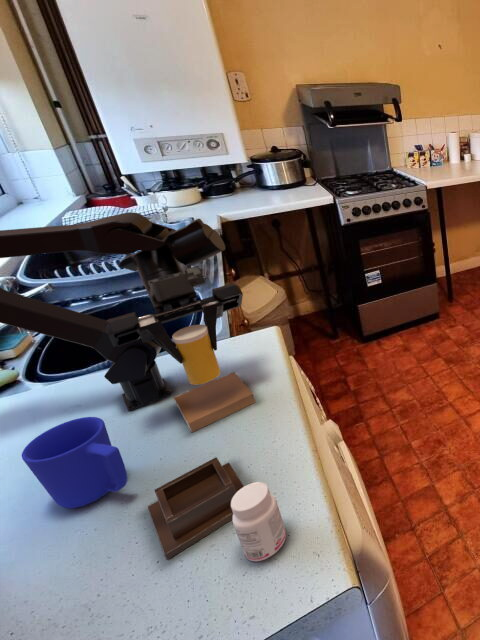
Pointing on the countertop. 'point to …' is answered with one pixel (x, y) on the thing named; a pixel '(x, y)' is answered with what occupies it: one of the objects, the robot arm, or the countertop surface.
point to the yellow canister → (197, 354)
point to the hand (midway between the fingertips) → (199, 355)
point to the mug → (76, 462)
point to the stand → (194, 505)
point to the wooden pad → (213, 401)
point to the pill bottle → (257, 521)
